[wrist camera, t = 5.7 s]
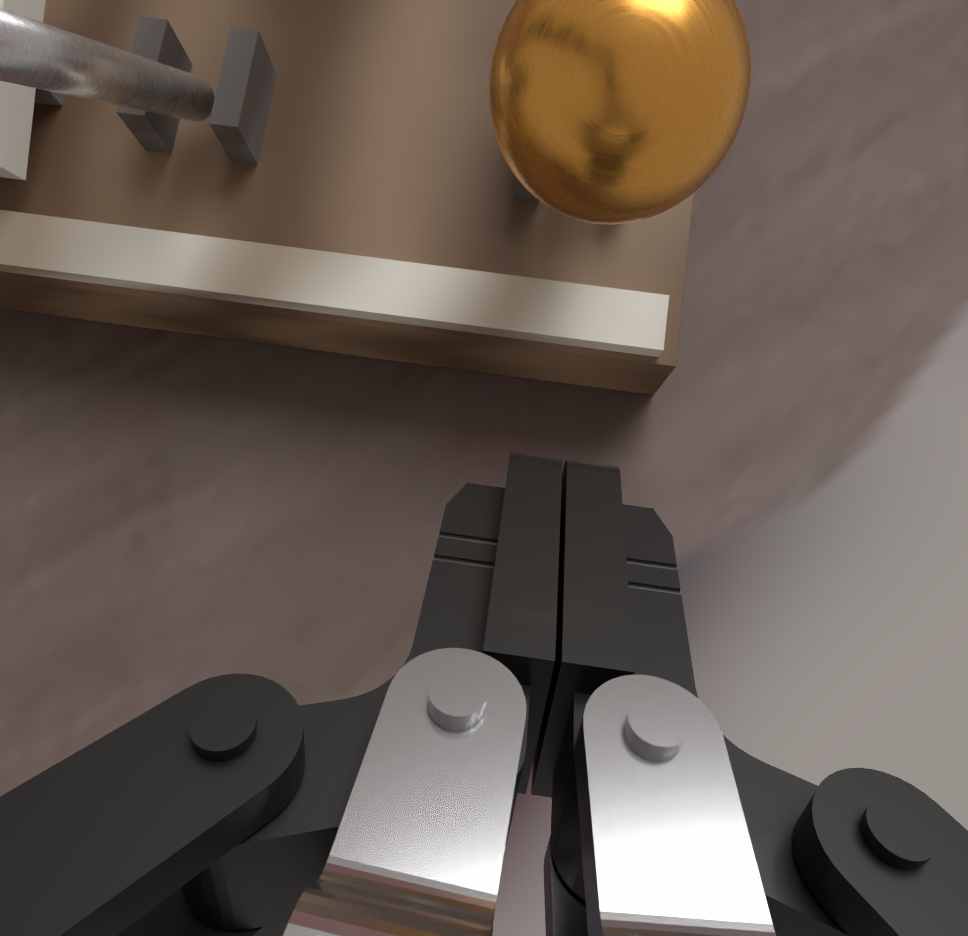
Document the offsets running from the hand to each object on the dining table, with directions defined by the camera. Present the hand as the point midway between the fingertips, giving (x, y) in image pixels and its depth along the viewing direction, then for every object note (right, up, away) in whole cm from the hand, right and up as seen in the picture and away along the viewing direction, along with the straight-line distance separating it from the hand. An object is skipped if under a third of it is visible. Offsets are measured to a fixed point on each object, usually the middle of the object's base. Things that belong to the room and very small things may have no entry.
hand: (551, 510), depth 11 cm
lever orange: (+2, +10, +11) cm, 15 cm away
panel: (-7, +10, +15) cm, 20 cm away
